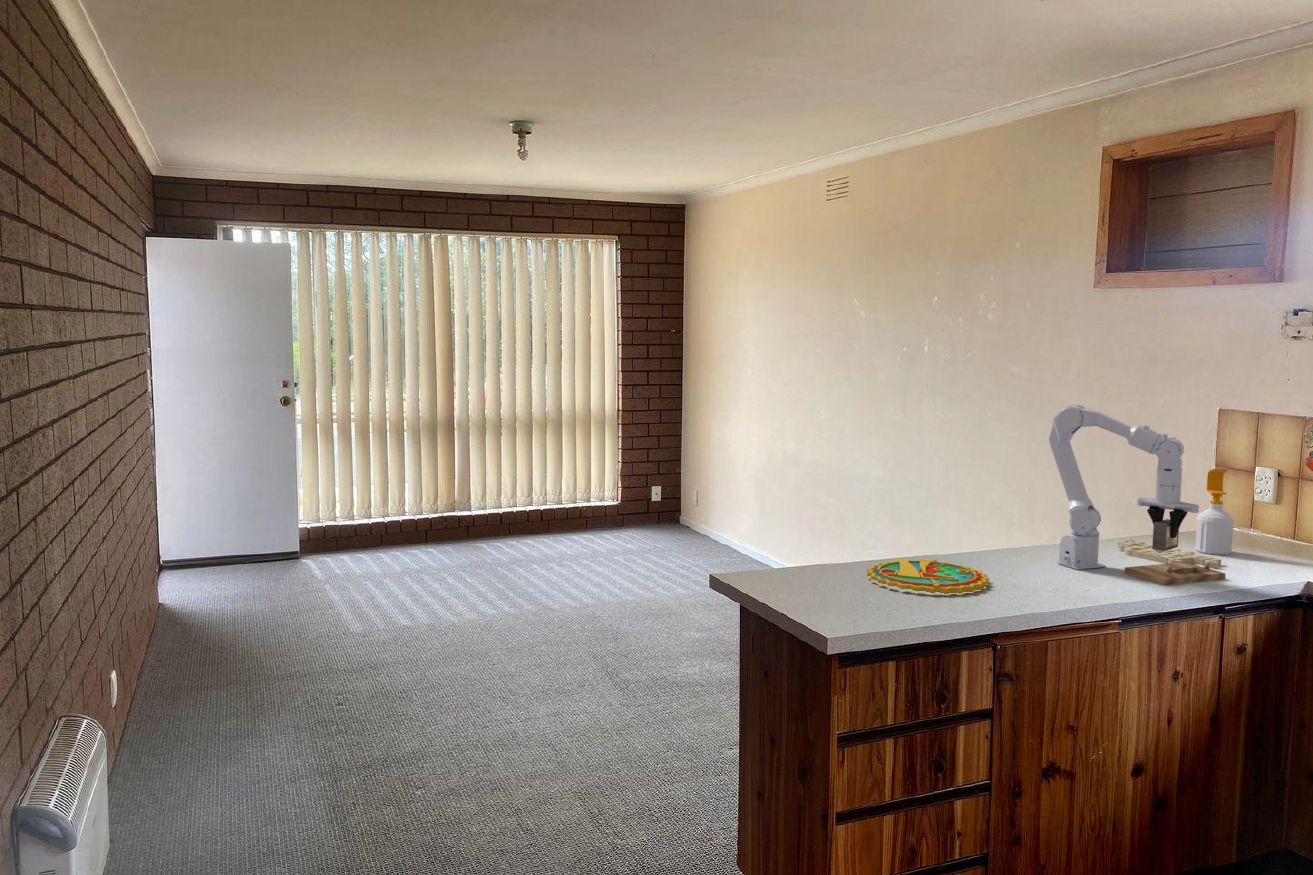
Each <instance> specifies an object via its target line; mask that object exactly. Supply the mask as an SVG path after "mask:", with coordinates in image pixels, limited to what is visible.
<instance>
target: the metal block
mask: <svg viewBox="0 0 1313 875" xmlns="http://www.w3.org/2000/svg"><path fill="white" fill-rule="evenodd" d="M1152 528H1153V529H1152V549H1154V550H1160V551H1167V550H1170V549H1174V548H1175V549H1177V548H1178V547H1179V537H1180V536H1179V534H1180V529H1179V530H1178V533H1177V537H1175V538H1170V528H1171V522H1170V518H1166V519H1163V520H1162V521H1158V522H1155V523H1154V525H1153V527H1152Z"/></svg>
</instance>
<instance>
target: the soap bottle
mask: <svg viewBox="0 0 1313 875" xmlns="http://www.w3.org/2000/svg"><path fill="white" fill-rule="evenodd" d="M1227 472H1228V469H1225V468H1211V469H1209V470H1208V471H1207V477H1206V492H1208V493H1209V494H1211V495H1210V496H1211V497H1212V500H1209V505H1208V509H1206V510H1203V511H1202V512H1200V513H1199V514H1198V516H1197V517H1196V529H1195V530H1196V531H1195V532H1196V533H1195V548H1194V549H1195V550H1196V551H1197V552H1198V553H1202V554H1207V555H1212V556H1213V555H1215V556H1227V555H1230V554H1231V553H1232V549H1233V547H1232V546H1233V535H1234V534H1233V532H1234V531H1233V530H1234V519H1233V516H1231V514H1230V513H1228V512H1227V511H1225V510H1224V508H1223V506H1224V505H1223V503H1224V502H1223V501H1221V500H1220V499H1221V498H1222V497H1223V495H1227V492H1225V491H1224V489H1223V487H1224V486H1223V485H1224V476H1225V475H1224V474H1225V473H1227Z"/></svg>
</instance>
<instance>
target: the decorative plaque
mask: <svg viewBox="0 0 1313 875" xmlns="http://www.w3.org/2000/svg"><path fill="white" fill-rule="evenodd" d="M866 576H871V579H873V580H877V581H878V583H882V584H887V585H888V586H897V587H899V588H900V589H912V590H914V591H926V592H930V593H935V592H940V593H944V594H949V593H959V594H961V593H963V592H973V591H974V590H982V591H983V589H982V588H984V587H987V588H988V586H987V584H990V582H989V581H990V578H989V577H988V575H987V574H986V573H984V572H983V570H979V569H975V568H974V567H971V566H965V565H964V564H957V563H953V562H942V561H938V559H927V558H923V559H918V560H914V559H905V558H904V559H903V558H897V559H896V560H893V561H887V560H885V561H884V562H878V563H877V562H876V563H875V565H870V566H869V568H867V569H866Z"/></svg>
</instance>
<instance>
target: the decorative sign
mask: <svg viewBox="0 0 1313 875" xmlns="http://www.w3.org/2000/svg"><path fill="white" fill-rule="evenodd" d="M1152 545H1153V543H1150V542H1144V541H1138V540H1135V539H1134V540H1132V539H1123V540H1122V542H1120V541H1118V542H1117V548H1118V549H1119V550H1118V551H1119V552H1123V554H1124V556H1128V557H1134V558H1138V559H1143V560H1147V561H1152V562H1156V563H1159V564H1168V563H1179V562H1186V563H1189V564H1193V565H1197V566H1204V563H1209V564H1210V568H1209V569H1212V570H1216V569H1219V566H1218V565H1221V566H1222V559H1221V558H1218V557H1212V556H1206V555H1204V554H1203V555H1201V554H1198V553H1195V551H1189V550H1186V551H1182V549H1181V548H1173V549H1170V550H1167V551H1160V550H1154V549H1152Z"/></svg>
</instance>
